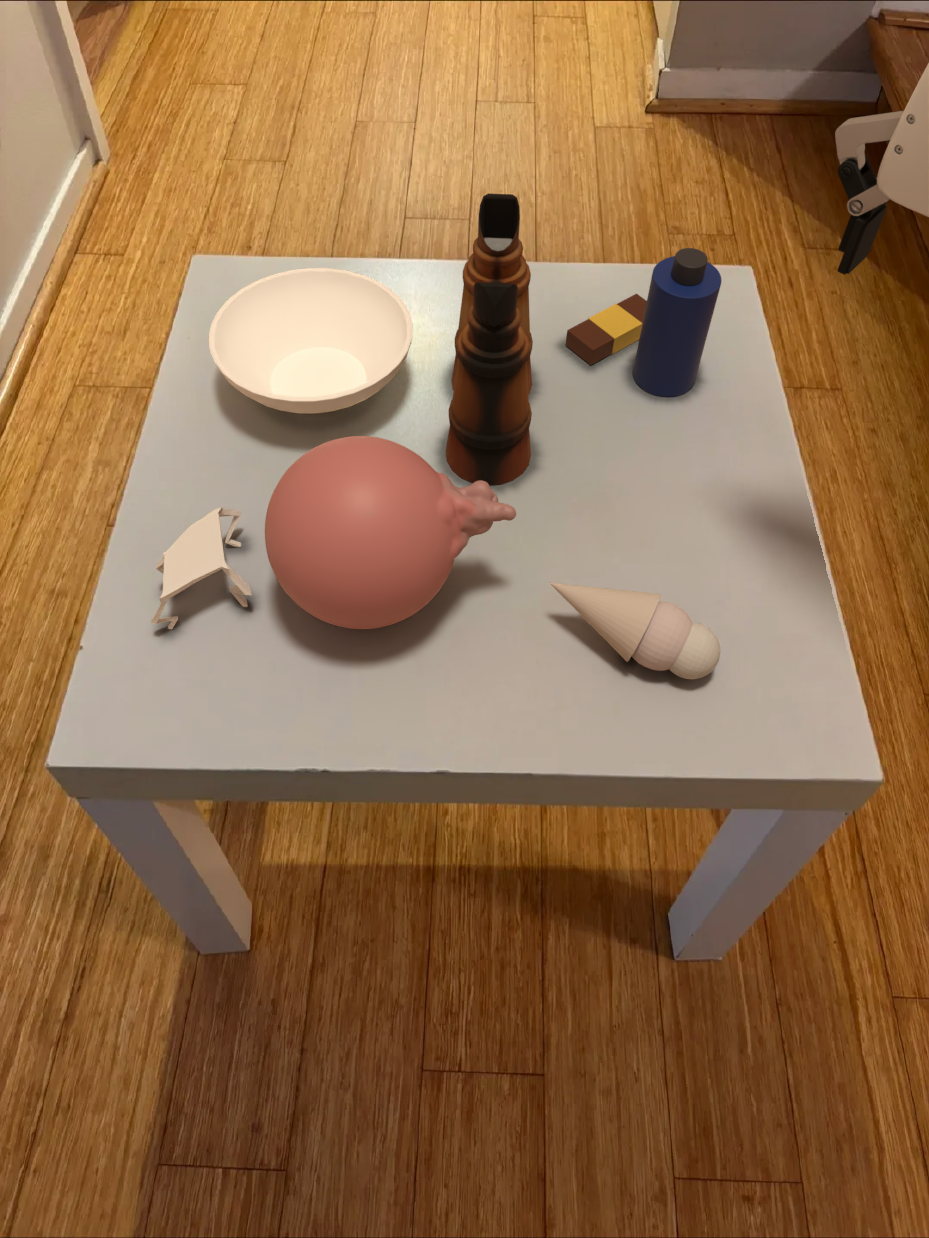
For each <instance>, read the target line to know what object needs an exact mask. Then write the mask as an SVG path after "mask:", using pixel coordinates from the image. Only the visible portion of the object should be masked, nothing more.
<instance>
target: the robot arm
mask: <svg viewBox="0 0 929 1238" xmlns="http://www.w3.org/2000/svg"><path fill="white" fill-rule="evenodd" d="M834 137H835V146H836V155H837V160H838V162H839V166H838V169H837V175H838V178H839V180H840V183H841V184H842V187H843V190H844V192H845V194H846V196H847V199H848V201H847V204H846V209H847V212H848V213H849V214H850V216H849V219H848V221H847V224H846V227H845V230H844V232H843V234H842V237H841V240H840V243H839V246H838V249H837V250H838V251H839V252H841V253H843V255H842V256H841V259H840V262H839V265H838V268H837V270H836V271H837V273H839V274H842V275H844V276H845V275H846V274H847V275H849V274H851V273H852V272H853V271H854V270H855V269H856V268H857V267H858V266H859V265H860V264H861V263H862V262H863V261H864V260H866V258H867V257H868V255H869V254H870V252H871V250H872V246H873V244H874V242H875V240H876V239H875V238H876V237H877V234H878V232H879V230H880V227H881V224H882V222H883V220H884V217H885V214H886V212H887V209H888V205H887V203H888V201H890V200H891V201H893V202H894V203H896V204H898V205H899V206H902V207H904V208H906V209H909V210H911V211H914V212H916V213H918V214H920V215H922V216H925V217H927V218H929V62H928V63H927V65H926V67H925V69H924V71H923V72H922V75H921V76H920V78H919V80H918V82H917V84H916V86H915V88H914V90H913V92H912V94H911V96H910V98H909V100H908V102H907V104H906V106H905V108H904V109H903V110H899V111H893V112H884V113H878V114H871V115H865V116H858V117H851V118H848V119H846V120H845V121H844V122H843V123H841V125H839V126H838V127H837V128H836V130H835V132H834ZM879 142H888V144H887V147H886V149H885V151H884V154H883V157H882V159H881V162H880V165H879V168H878V172H877V176H876V174H875V172H874V170H873V167H872V164H871V163H870V160H869V158H868V156H867V154H865V150H866V144H872V143H879Z"/></svg>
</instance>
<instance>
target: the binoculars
mask: <svg viewBox="0 0 929 1238" xmlns="http://www.w3.org/2000/svg"><path fill="white" fill-rule="evenodd" d="M518 199H519V198H518V196H515V195H514V194H510V193H486V194H484V195H483V196H482V198H481V201H480V204H479V210H478V221H477V237H476V238H475V239H474V240H473V243H472V253H471V254H470V255H469V256H468V260H467V261H466V262H465V264H464V266H463V269H462V282H463V287H462V294H461V295H462V296H461V303H460V311H459V320H458V328H457V329H456V333H455V335H454V350H455V357H454V362H453V369H452V376H451V386H452V391H453V392H452V399H451V401H450V404H449V407H448V420H449V428H448V434H447V441H446V446H445V447H446V448H445V455H446V456H445V457H446V462H447V464H448V465H449V467H450V469H451V471H452V472H454V474H456V475H457V476H458V477H459V478H460V479H462V480H464V481H466V482H469V483H471V484H473V483H474V482H476V481H479V480H482V481H485V482H487V483H488V484H489V486H500V485H504V484H506V483H509V482H512V481H514V480H516V479H517V478H519V477H520V476H521V475H523V474H524V472H525V471H526V469H527V468H528V467H529V466H530V461H531V456H532V450H531V449H532V448H531V435H530V427H531V421H532V415H533V413H532V407H531V404H530V403H531V402H530V401H529V400H530V399H529V397H530V396H529V395H530V394H531V390H532V385H533V379H532V365H531V364H532V362H531V354H532V350H533V345H534V344H533V343H534V341H533V337H532V332H531V324H530V323H531V321H530V319H531V318H530V283H531V276H532V273H531V269H530V265H529V264H528V262H527V260H526V258H525V257H524V255H523V252H524V247H523V242H522V241H521V240H520V224H521V223H520V222H521V209H520V203H519V200H518Z"/></svg>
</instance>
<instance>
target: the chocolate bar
mask: <svg viewBox="0 0 929 1238" xmlns="http://www.w3.org/2000/svg"><path fill="white" fill-rule="evenodd" d="M646 303H647V299H645V298H643V296H641V295H639V294H638V293H634V294H633V295H631V296H629V297H626V298H625V299H623V300H622V301H620V302H618V303H614V304H613V305H611V306H608V307H607V308H605V309H603V310H601V311H599V312H598V313H596V314H594V315H592V316H590V317H588V318H587V319H586V320H584V321H582V322H580V323H578V324H576V325H574V326H572V327H570V328H568V329H567V331H566V339H565V346H566V347H567V348H568V349H569V350H571V351H572V352H573V353H574V354H576V355H577V356H578V357H580V358H581V359H582V360H583V361H585V362H586V363H587V364H588V365H589V366H593V365H594V364H596V363H597V362H600V361H601V360H603V359H605V358H607V357H608V356H610V355H614V354H616V353H617V352H619V351H621V350H623V349H624V348H626V347H628V346H630V345H632V344H634V343H636V342H637V341H639V338H640V333H641V328H642V323H643V318H644V313H645V308H646Z"/></svg>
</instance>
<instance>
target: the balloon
mask: <svg viewBox="0 0 929 1238" xmlns="http://www.w3.org/2000/svg"><path fill="white" fill-rule="evenodd" d="M490 486H491V485H489V484H488V483H487V482H485V481H482V480H479V481H476V482H474V483H471V484H470V485H468V486H460V487H459V486H456V485H455V484H453V482H452V481H451V479H450V478H449V476H447V475H446V474H444V473H442V472H438V471H436V470H435V469H434V467H432V466H431V464H430V463H429V462H428V461H426V460H425V459H424V458H422V456H420V455H419V454H418V453H416V452H415V451H414V450H412V449H410V448H408V447H407V446H404V445H402V444H400V443H398V442H395V441H392V440H389V439H387V438H381V437H376V436H371V435H353V436H344V437H340V438H335V439H332V440H329V441H326V442H323V443H321V444H319V445H317V446H315V447H313V448H311V449H309V450H308V451H307V452H305V453H303V454H302V455H301V456H300V457H299V458H298V459H296V460H295V461H294V462H293V463H292V464H291V465H290V466H289V467H288V468H287V470H286V471H284V474H283V475H282V476H281V477H280V478H279V480H278V482H277V484H276V485H275V488H274V489H273V491H272V494H271V496H270V500H269V501H268V505H267V509H266V514H265V520H264V544H265V550H266V554H267V558H268V562H269V564H270V567H271V569H272V572H273V574H274V576H275V578H276V579H277V582H278V583H279V585H280V586H281V587H282V589H283V591H284V592H285V593H286V594H287V596H289V597H290V599H291V600H292V601H293V602H294V603H295V604H296V605H298V606H299V607H300V608H301V609H303V610H304V611H305V612H307V613H308V614H310V616H313V617H315V618H316V619H319V620H320V621H322V622H325V623H328V624H331V625H333V626H336V627H340V628H346V629H353V630H372V629H379V628H384V627H388V626H391V625H394V624H397V623H399V622H402V621H404V620H406V619H408V618H410V617H411V616H413V615H415V614H417V613H418V612H419V611H420V610H422V609H423V608H424V607H425V606H427V605H428V604H429V603H430V602H431V601H432V600H433V599H434V597H435V596H436V595H437V594H438V593H439V592H440V590H441V589H442V587H443V586H444V584H445V582H446V581H447V579H448V577H449V575H450V573H451V570H452V569H453V565H454V562H455V559H456V558H458V556H460V554H461V553H462V551H463V550H464V549H465V548H466V546H467V545H468V543H469V540H470V538H472V537H474V536H478V535H483V534H485V533H487V532H489V531H490V529H491V528H492V527H493V524H494V522H502V521H513V520H514V519H515V518H516V517H517V511H516V508H515V507H513V506H512V505H510V504H507V503H505V502H501V501H500V502H499V498H498V496H497V494H496V492H495V491H494V490H493V489H492V488H491V487H490Z"/></svg>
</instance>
